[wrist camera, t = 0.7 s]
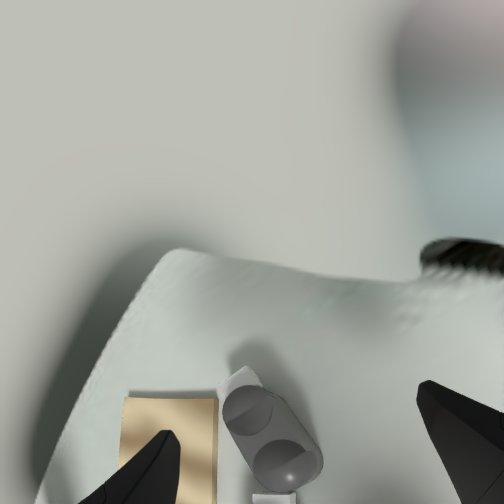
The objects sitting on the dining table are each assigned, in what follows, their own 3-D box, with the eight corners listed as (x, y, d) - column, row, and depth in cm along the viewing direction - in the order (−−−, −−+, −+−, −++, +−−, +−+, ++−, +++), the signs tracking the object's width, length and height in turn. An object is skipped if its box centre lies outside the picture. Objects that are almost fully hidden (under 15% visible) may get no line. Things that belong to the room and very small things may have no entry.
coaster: (216, 518, 16) (211, 519, 16) (122, 492, 20) (117, 492, 20) (218, 399, 24) (213, 398, 23) (129, 398, 28) (124, 397, 27)
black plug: (333, 468, 16) (322, 473, 14) (289, 493, 16) (270, 501, 13) (264, 369, 24) (244, 356, 21) (229, 393, 24) (205, 383, 21)
